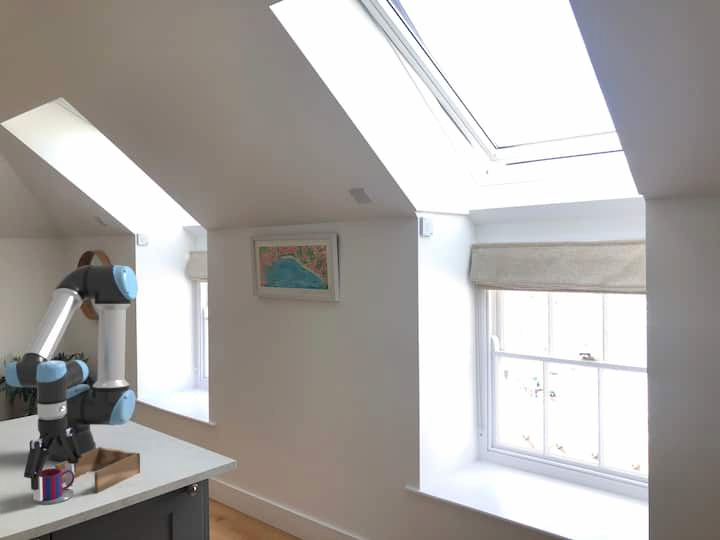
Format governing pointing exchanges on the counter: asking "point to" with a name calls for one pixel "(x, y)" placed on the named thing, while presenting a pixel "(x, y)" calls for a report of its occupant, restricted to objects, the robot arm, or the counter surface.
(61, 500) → the slate coaster
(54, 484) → the mug
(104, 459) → the walnut bay
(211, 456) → the counter surface
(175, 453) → the counter surface
